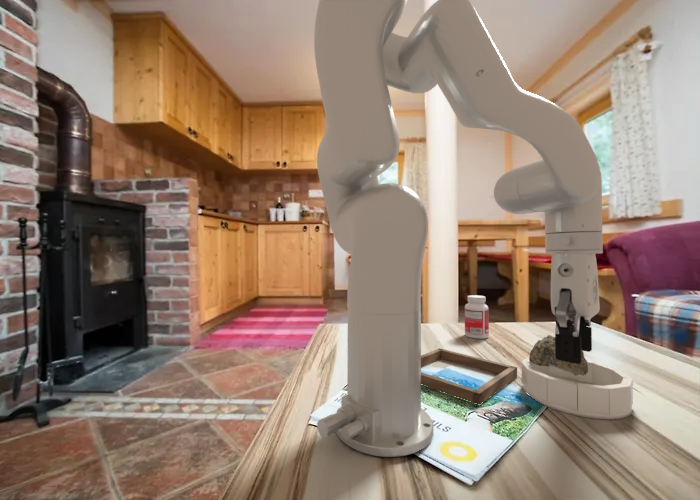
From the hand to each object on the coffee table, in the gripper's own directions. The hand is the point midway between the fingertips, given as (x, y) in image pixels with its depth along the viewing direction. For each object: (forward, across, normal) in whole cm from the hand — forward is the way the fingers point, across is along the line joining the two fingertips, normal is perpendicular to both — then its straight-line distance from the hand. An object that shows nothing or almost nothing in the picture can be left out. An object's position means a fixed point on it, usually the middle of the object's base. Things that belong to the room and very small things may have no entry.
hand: (574, 354), depth 51 cm
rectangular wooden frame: (+7, -6, +17) cm, 19 cm away
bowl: (+7, 0, 0) cm, 7 cm away
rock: (+3, 0, +2) cm, 4 cm away
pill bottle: (+7, +25, +27) cm, 37 cm away
